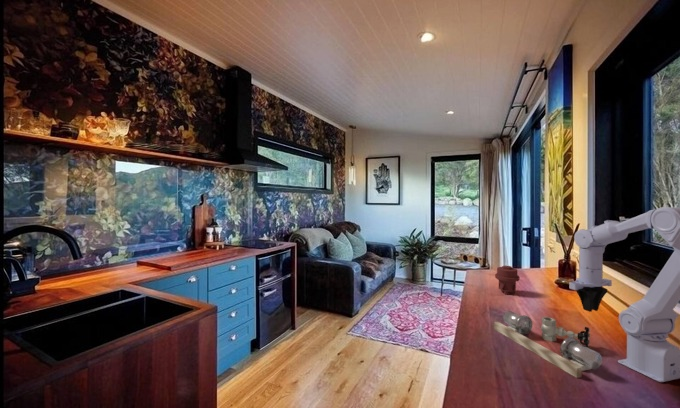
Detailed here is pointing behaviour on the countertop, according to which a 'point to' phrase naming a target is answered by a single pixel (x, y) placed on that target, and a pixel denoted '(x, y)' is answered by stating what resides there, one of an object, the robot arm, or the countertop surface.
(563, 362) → the backing rail
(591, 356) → the pipe line
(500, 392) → the countertop surface
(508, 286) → the mechanical component
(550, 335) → the valve
